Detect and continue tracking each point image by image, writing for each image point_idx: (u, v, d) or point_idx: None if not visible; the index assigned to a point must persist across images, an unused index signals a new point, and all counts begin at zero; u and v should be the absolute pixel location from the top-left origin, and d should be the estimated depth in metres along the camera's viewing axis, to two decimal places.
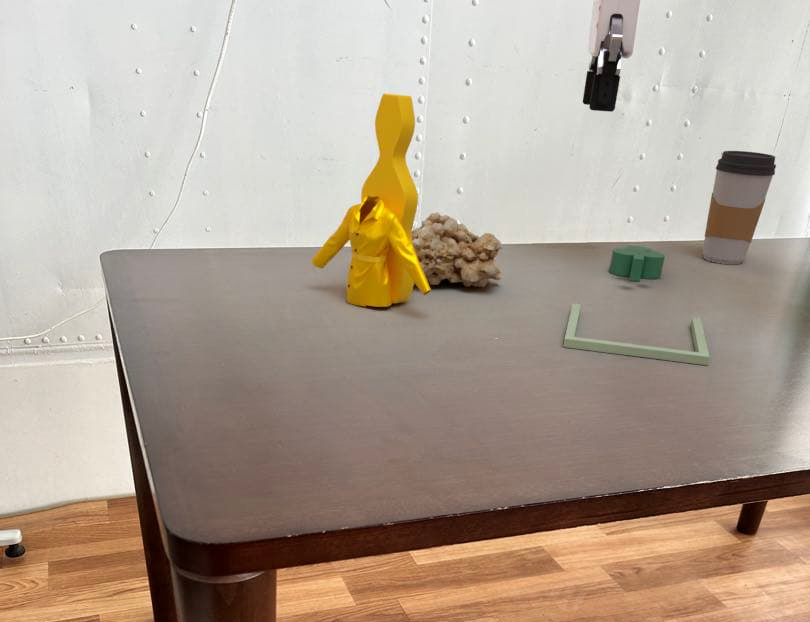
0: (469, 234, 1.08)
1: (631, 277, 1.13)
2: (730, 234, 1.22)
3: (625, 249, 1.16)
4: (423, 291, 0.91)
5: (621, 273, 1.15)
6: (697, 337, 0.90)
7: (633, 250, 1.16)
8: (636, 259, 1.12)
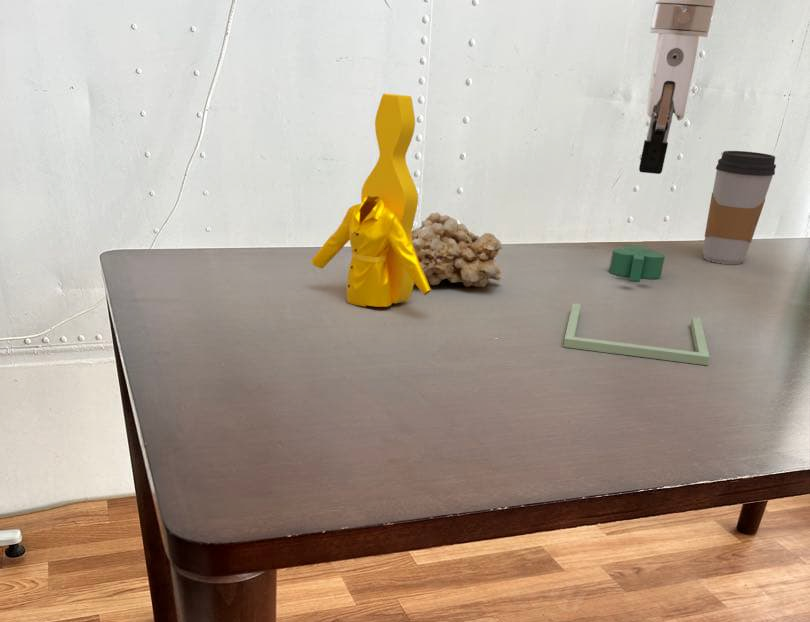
0: (469, 234, 1.08)
1: (631, 277, 1.13)
2: (730, 234, 1.22)
3: (625, 249, 1.16)
4: (423, 291, 0.91)
5: (621, 273, 1.15)
6: (697, 337, 0.90)
7: (633, 250, 1.16)
8: (636, 259, 1.12)
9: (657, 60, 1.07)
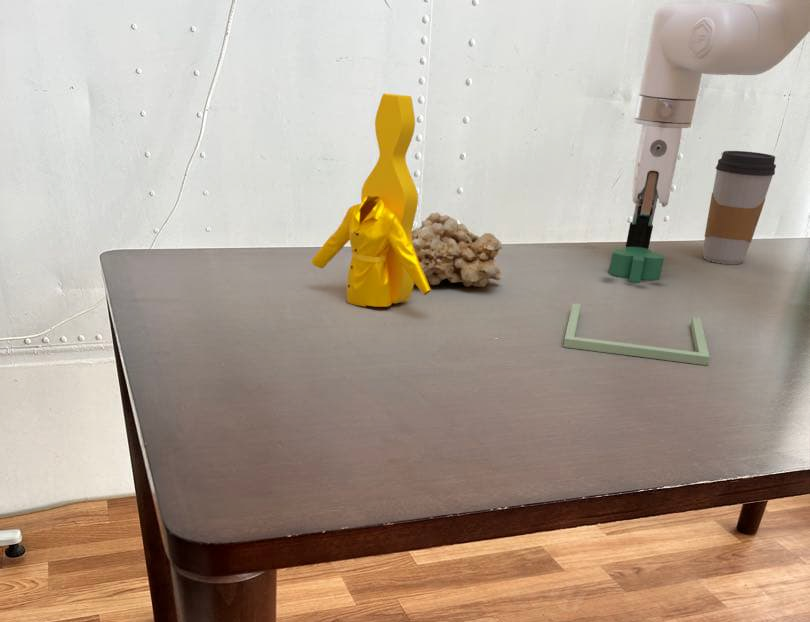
0: (469, 234, 1.08)
1: (631, 278, 1.13)
2: (730, 234, 1.22)
3: (624, 250, 1.16)
4: (423, 291, 0.91)
5: (621, 274, 1.14)
6: (697, 337, 0.90)
7: (632, 251, 1.15)
8: (636, 260, 1.11)
9: (641, 150, 1.10)
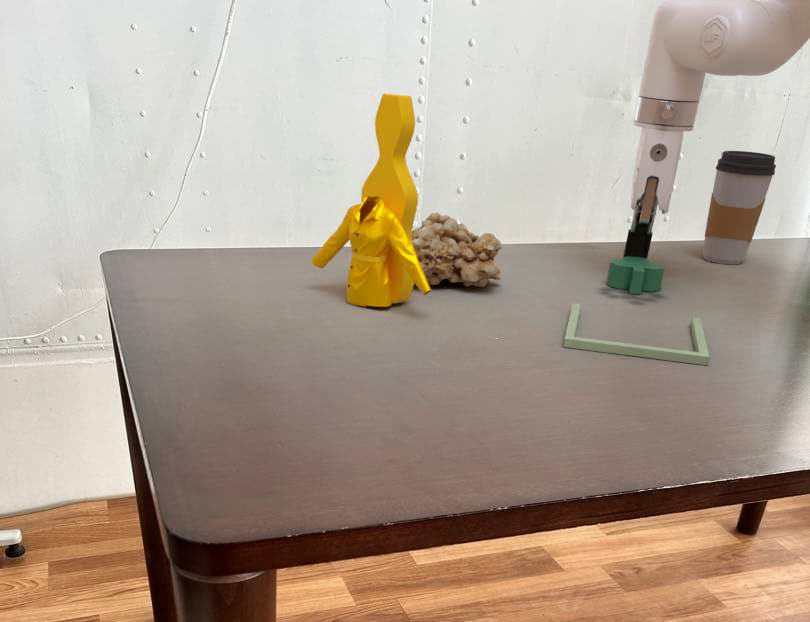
0: (469, 234, 1.08)
1: (631, 290, 1.07)
2: (730, 234, 1.22)
3: (623, 260, 1.10)
4: (423, 291, 0.91)
5: (620, 286, 1.09)
6: (697, 337, 0.90)
7: (631, 261, 1.10)
8: (637, 271, 1.06)
9: (640, 154, 1.04)
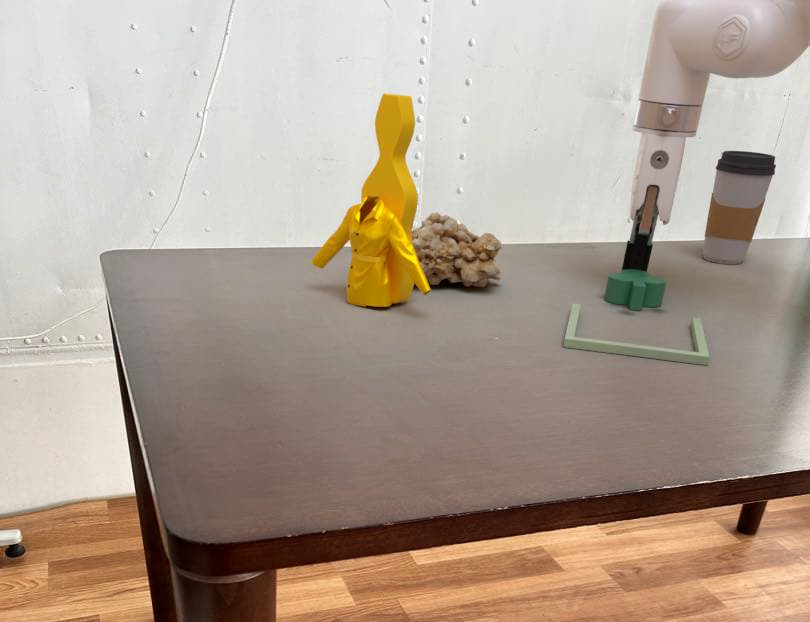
0: (469, 234, 1.08)
1: (632, 306, 1.01)
2: (730, 234, 1.22)
3: (621, 274, 1.04)
4: (423, 291, 0.91)
5: (619, 301, 1.03)
6: (697, 337, 0.90)
7: (630, 275, 1.04)
8: (637, 286, 0.99)
9: (640, 161, 0.98)
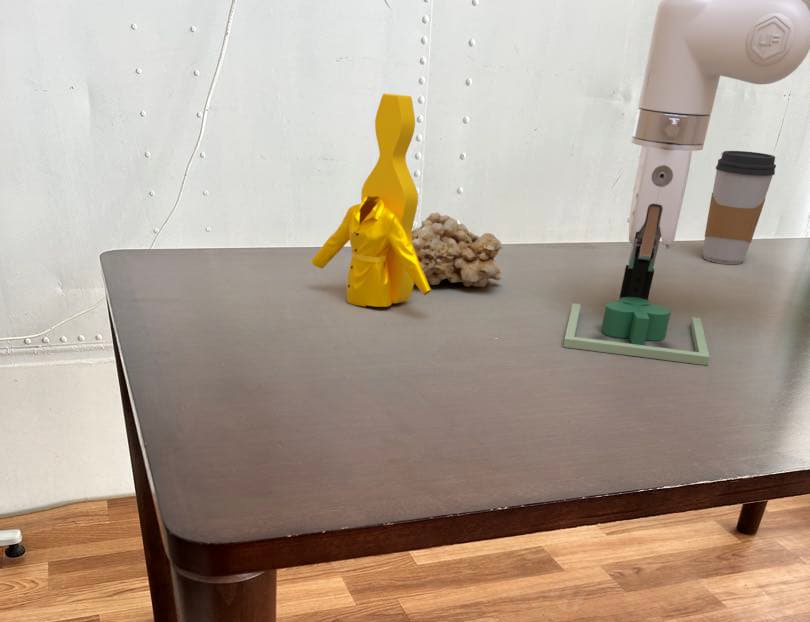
0: (469, 234, 1.08)
1: (633, 340, 0.89)
2: (730, 234, 1.22)
3: (620, 303, 0.92)
4: (423, 291, 0.91)
5: (618, 334, 0.91)
6: (697, 337, 0.90)
7: (630, 304, 0.92)
8: (640, 318, 0.88)
9: (640, 178, 0.86)
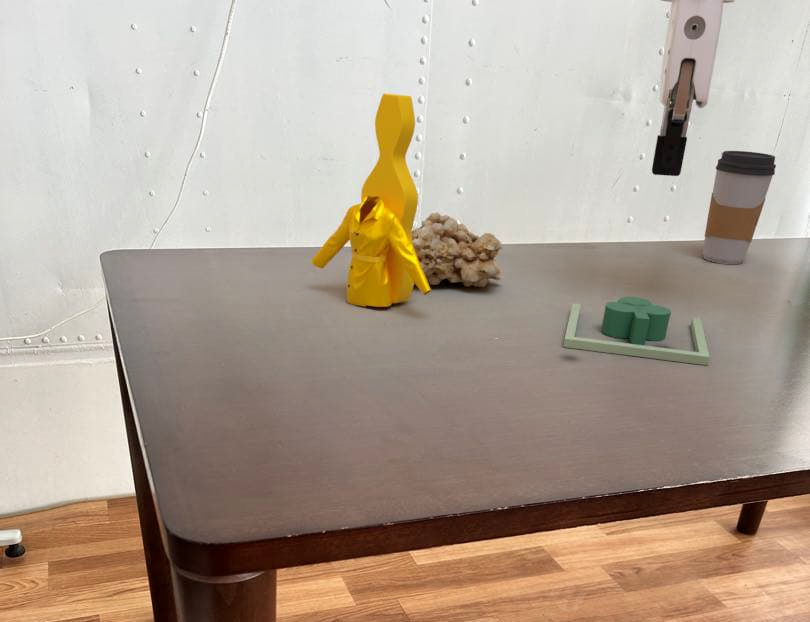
0: (469, 234, 1.08)
1: (633, 341, 0.89)
2: (730, 234, 1.22)
3: (620, 303, 0.92)
4: (423, 291, 0.91)
5: (618, 334, 0.91)
6: (697, 337, 0.90)
7: (630, 304, 0.92)
8: (640, 319, 0.88)
9: (672, 32, 0.85)
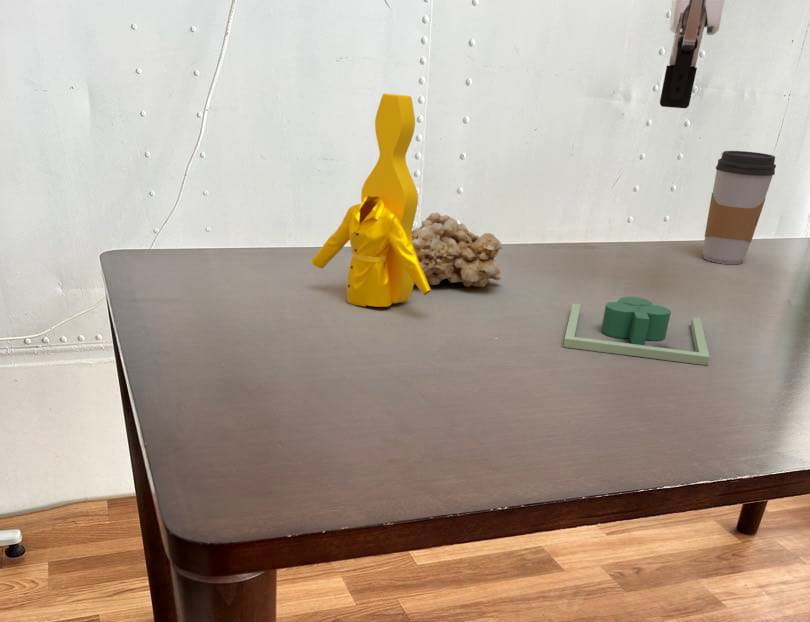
0: (469, 234, 1.08)
1: (633, 341, 0.89)
2: (730, 234, 1.22)
3: (620, 303, 0.92)
4: (423, 291, 0.91)
5: (618, 334, 0.91)
6: (697, 337, 0.90)
7: (630, 304, 0.92)
8: (640, 319, 0.88)
9: None
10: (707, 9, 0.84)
